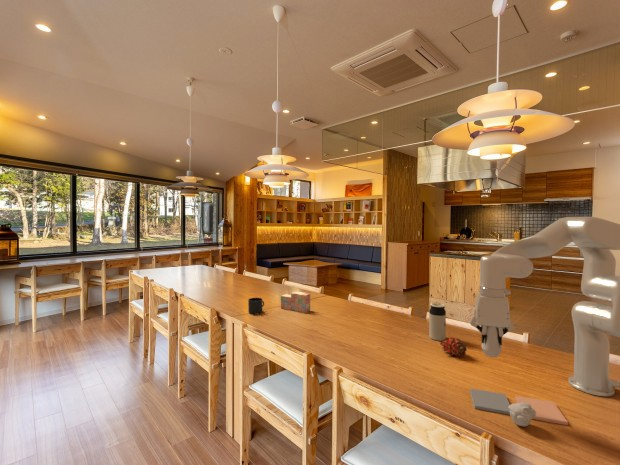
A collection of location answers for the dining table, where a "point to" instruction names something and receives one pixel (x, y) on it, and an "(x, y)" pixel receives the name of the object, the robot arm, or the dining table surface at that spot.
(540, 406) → the terracotta tile
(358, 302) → the dining table surface
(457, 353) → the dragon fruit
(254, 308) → the mug
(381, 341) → the dining table surface
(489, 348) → the salt shaker
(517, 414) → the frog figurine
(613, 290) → the robot arm
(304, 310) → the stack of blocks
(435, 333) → the travel mug
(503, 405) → the slate tile
